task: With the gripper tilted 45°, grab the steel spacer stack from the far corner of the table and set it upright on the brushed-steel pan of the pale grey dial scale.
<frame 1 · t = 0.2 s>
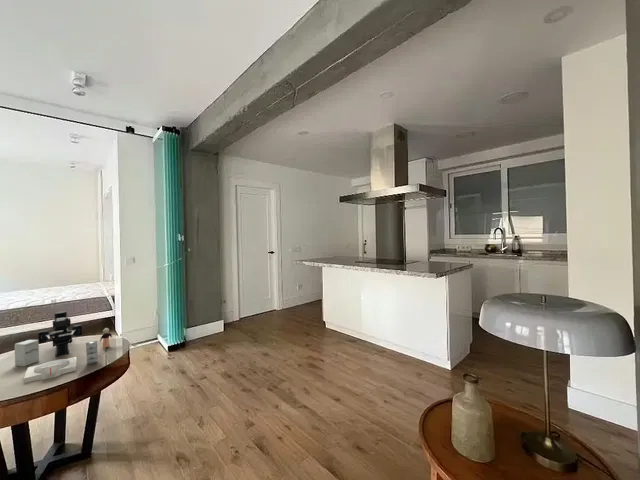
hand: (60, 337, 160), 17 cm above the table, tool horizontal, fingers open, 9 cm apart
grandmother figurine: (106, 347, 188), on the table
steel spacer stack: (92, 362, 165), on the table
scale: (52, 371, 155), on the table
supplement box: (27, 363, 166), on the table
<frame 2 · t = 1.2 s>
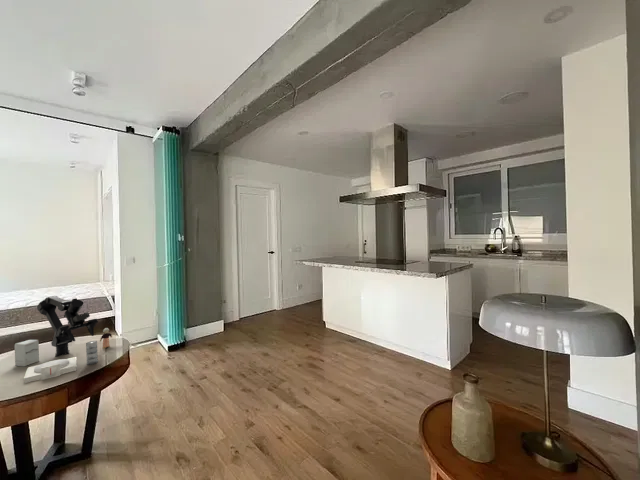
hand: (84, 338, 168), 13 cm above the table, tool tilted 45°, fingers open, 9 cm apart
nothing on the table moved.
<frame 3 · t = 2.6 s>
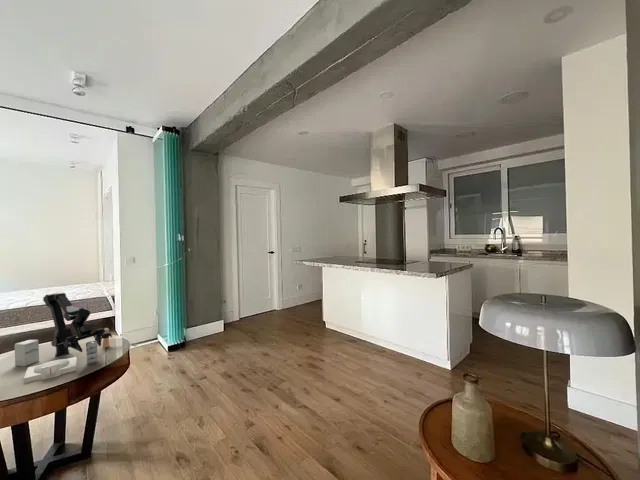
hand: (91, 348, 165), 8 cm above the table, tool tilted 45°, fingers open, 9 cm apart
nothing on the table moved.
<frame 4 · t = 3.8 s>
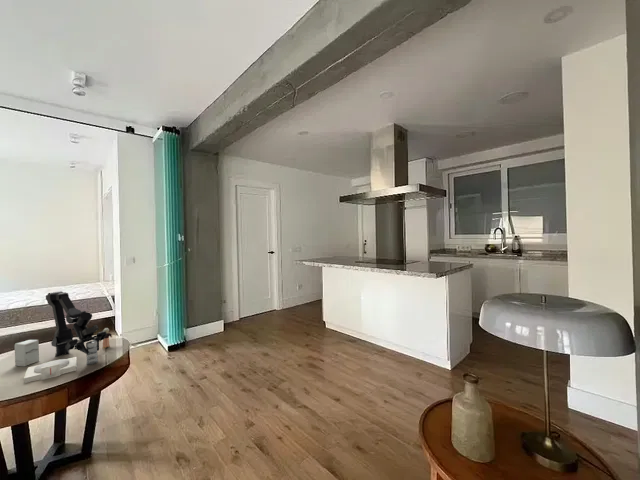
hand: (93, 352, 164), 7 cm above the table, tool tilted 45°, fingers closed on steel spacer stack, 5 cm apart
steel spacer stack: (92, 362, 165), on the table, touching gripper
everything else where it was.
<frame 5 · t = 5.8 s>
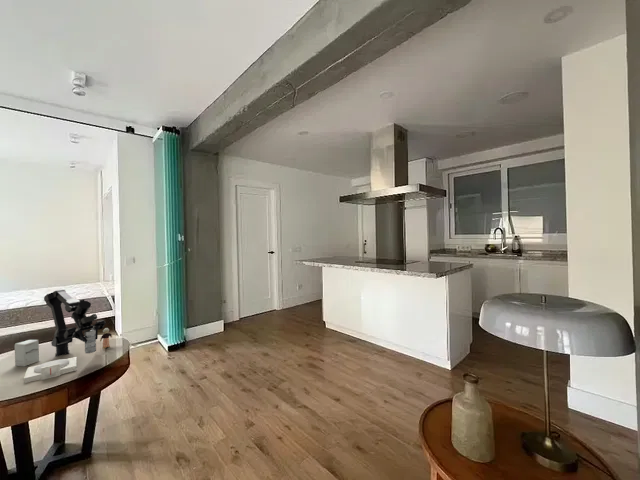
hand: (91, 340, 164), 13 cm above the table, tool tilted 45°, fingers closed on steel spacer stack, 5 cm apart
steel spacer stack: (90, 351, 164), point 7 cm above the table, touching gripper
everything else where it was.
when the fingers open (11 cm above the table, at t = 8.1 s): steel spacer stack drops 1 cm, resting on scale.
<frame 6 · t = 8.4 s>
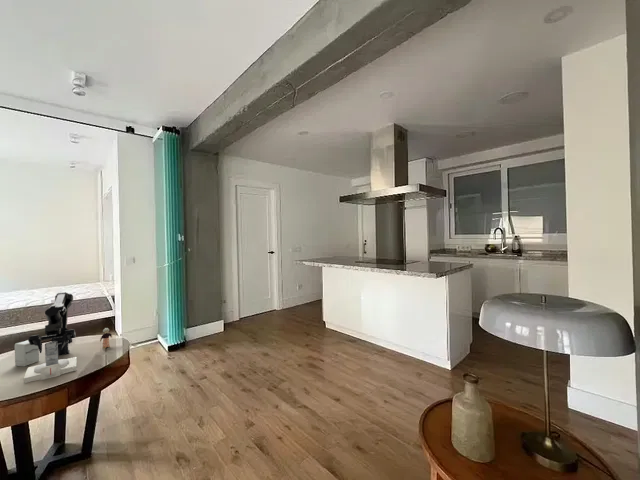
hand: (50, 351, 154), 12 cm above the table, tool tilted 45°, fingers open, 8 cm apart
steel spacer stack: (52, 364, 155), point 4 cm above the table, touching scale
everything else where it was.
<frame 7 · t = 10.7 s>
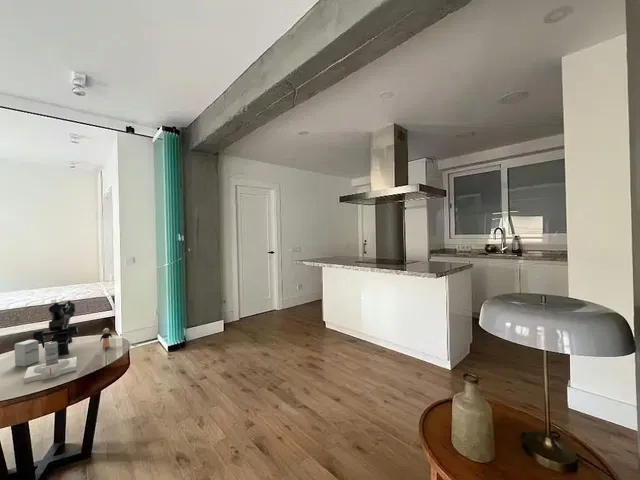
hand: (54, 345, 161), 11 cm above the table, tool tilted 45°, fingers open, 9 cm apart
nothing on the table moved.
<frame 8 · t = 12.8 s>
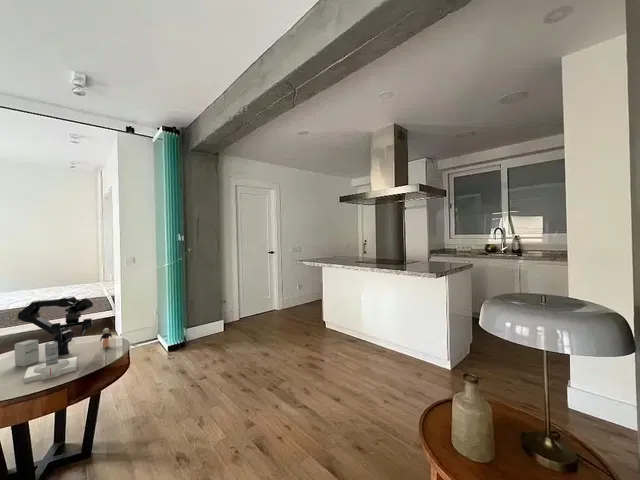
hand: (71, 337, 168), 14 cm above the table, tool tilted 45°, fingers open, 9 cm apart
nothing on the table moved.
at the end: steel spacer stack inside the target area on the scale (0.1 cm from its centre), point 3.5 cm above the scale's base; steel spacer stack tilted 0°; the gripper is holding nothing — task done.
